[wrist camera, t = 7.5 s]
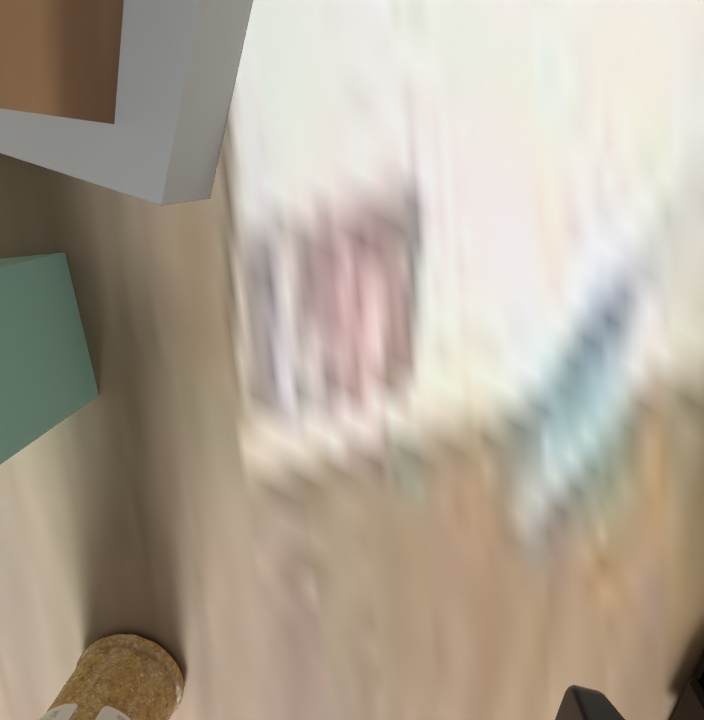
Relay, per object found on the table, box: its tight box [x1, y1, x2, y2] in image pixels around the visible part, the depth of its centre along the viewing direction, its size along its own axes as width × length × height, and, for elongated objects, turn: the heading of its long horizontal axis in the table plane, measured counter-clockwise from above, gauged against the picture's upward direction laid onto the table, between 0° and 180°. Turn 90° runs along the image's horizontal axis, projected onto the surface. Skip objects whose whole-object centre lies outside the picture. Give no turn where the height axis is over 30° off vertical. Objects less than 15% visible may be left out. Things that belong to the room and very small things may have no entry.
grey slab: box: [0, 0, 253, 205], centre depth 16 cm, size 8×8×4 cm
